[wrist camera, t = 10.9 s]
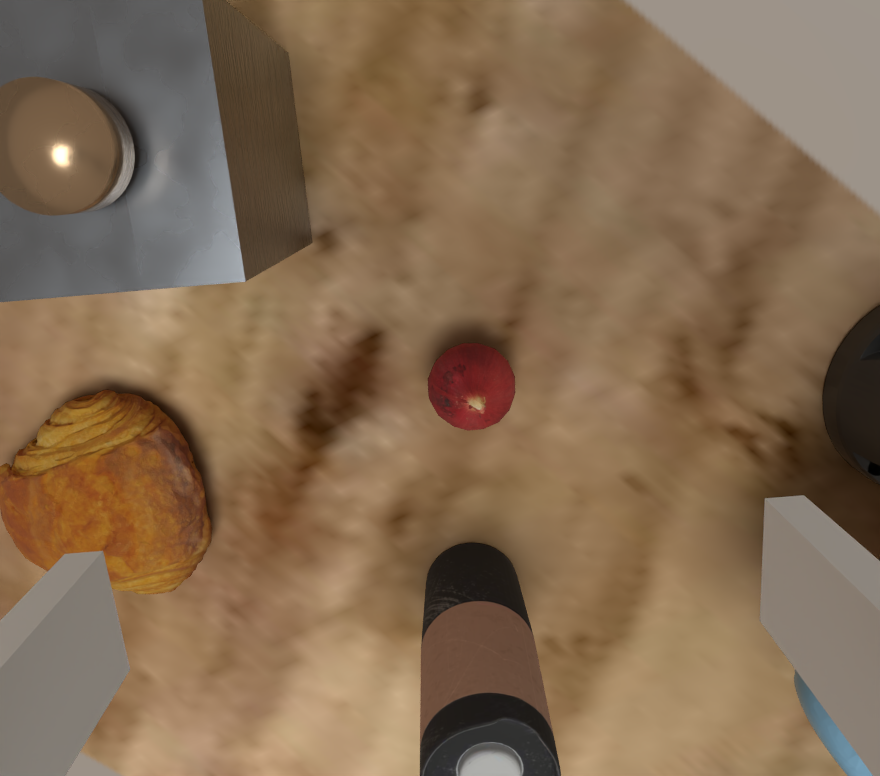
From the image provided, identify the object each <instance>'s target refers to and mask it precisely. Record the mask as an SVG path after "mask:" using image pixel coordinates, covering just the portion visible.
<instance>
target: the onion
mask: <svg viewBox="0 0 880 776" xmlns="http://www.w3.org/2000/svg"><path fill="white" fill-rule="evenodd" d="M428 394H429V399H430V401H431V403H432V405H433V407H434V409H435V410H436V412H437V414H438V416H440V417H441V418H443V419H444V420H445V421H447V422H448V423H450V424H451V425H452V426H454V427H458V428H461V429H465V430H477V429H484V428H486V427H489V426H491V425H493V424H496V423H498V422H499V421H500V420H501V419H502V418H503V417H504V415H505V414H506V413H507V412H508V411H509V409H510V407H511V404H512V401H513V398H514V395H515V376H514V374H513V372H512V369H511V367H510V365H509V363H508V361H507V360H506V359H505V358H504V357H503V356H502V355H501V354H500V353H499V352H498V351H497V350H496V349H494V348H491V347H488V346H485V345H482V344H479V343H462V344H460V345H457V346H455V347H452V348H450V349H448V350H447V351H446V352H445V353H444V354H443V355H442V356H440V357H439V358H438V359H437V360H436V362H435V364H434V366H433V368H432V370H431V373H430V375H429V377H428Z"/></svg>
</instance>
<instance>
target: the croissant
mask: <svg viewBox="0 0 880 776" xmlns="http://www.w3.org/2000/svg"><path fill="white" fill-rule="evenodd" d="M0 509H1V515H2V519H3V522H4V524H5V527H6V529H7V531H8V533H9V534H10V536H11V537H12V539H13V541H14V543H15V545H16V547H17V548H18V549H19V550H20V552H21V553H22V554H23V555H24V557H25V558H26V559H28V560H29V561H31V562H32V563H34V564H36V565H38V566H40V567H41V568H43V569H45V570H46V571H49V570H50V569H51V568H52V567H53V566H54V565H55V564H56V563H57V562H58V561H59V559H60V558H61V557H62V556H63V555H64V554H70V553H83V552H95V551H103V553H104V557H105V562H106V566H107V571H108V575H109V579H110V584H111V588H112V589H116V590H120V591H133V592H135V593H137V594H158V593H165V592H171V591H173V590H175V589H176V588H177V587H178V586H179V585H180V584H181V583H182V582H183V581H184V580H185V579H187V578H188V577H190V576H191V575H192V572H193V571H194V570H195V569H196V567H197V564H198V563H199V562H201V560H202V559H203V555H204V554H205V553H206V550H207V548H208V546H209V544H210V542H211V534H212V527H211V522H210V519H209V516H208V514H207V506H206V498H205V490H204V487H203V484H202V478H201V474H200V473H199V472H198V470H197V469H196V467H195V464H194V462H193V455H192V453H191V452H190V450H189V445H188V443H187V442H186V440H185V439H184V437H183V436H182V434H181V433H180V431H179V429H178V427H177V426H176V425H175V423H174V422H173V421H172V420H171V419H170V418H169V417H168V416H167V415H166V414H165V413H163V412H162V411H161V410H160V408H159V407H158V406H156V405H153V404H152V402H151V401H145V400H144V399H143V398H141V397H140V396H138V395H133V394H116V392H115V391H111V390H103V391H101V392H99V393H97V394H96V395H87V396H83V397H79V398H77V399H74V400H72V401H69V402H66V403H65V404H64V405H63V406H62V407H61V408H59V409H58V408H57V409H56V410H55V411H54V413H53V414H52V415H51V419H48V420H46V421H45V423H44V424H43V425H42V426H41V427H40V429H39V431H38V434H37V438H36V439H34V440H32V441H31V442H29V443H28V445H27V447H26V448H25V449H21V450H20V449H19V451H18V452H17V454H16V456H15V459H14V463H13V465H12V467H10V465H9V464H7V463H6V464H4V465H2V466H1V467H0Z"/></svg>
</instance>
